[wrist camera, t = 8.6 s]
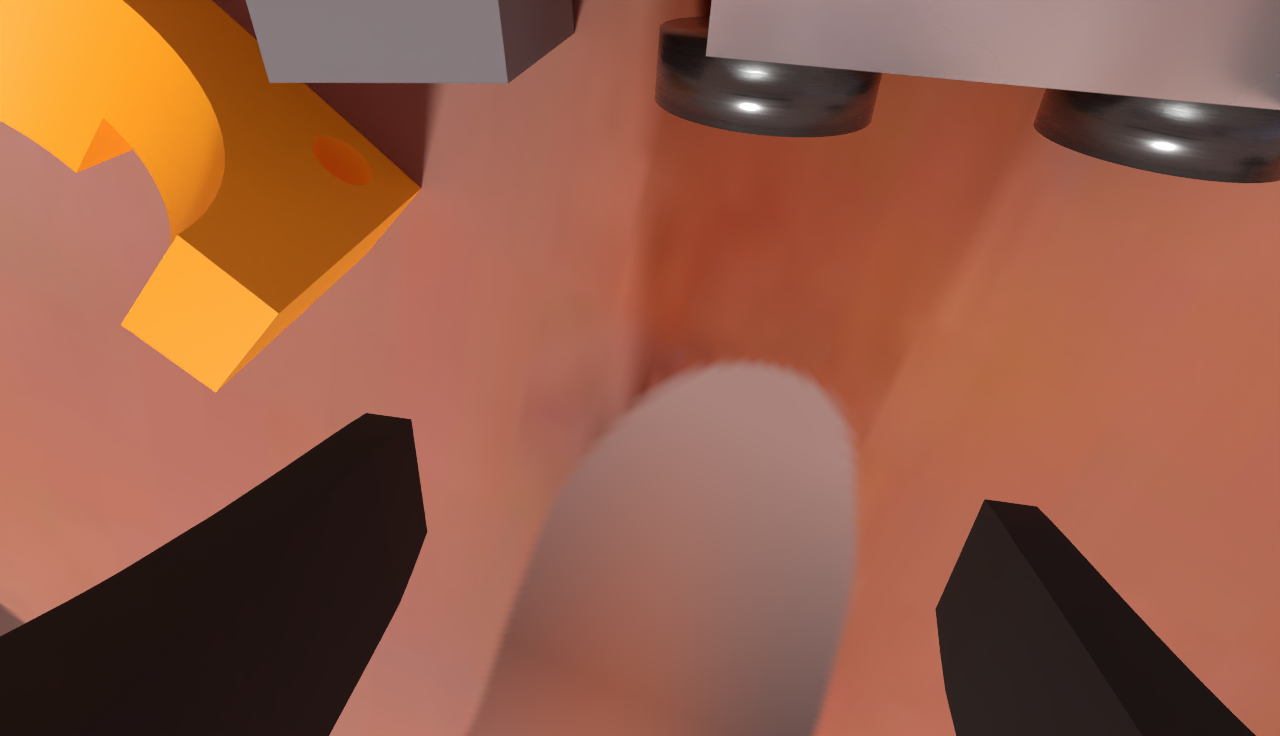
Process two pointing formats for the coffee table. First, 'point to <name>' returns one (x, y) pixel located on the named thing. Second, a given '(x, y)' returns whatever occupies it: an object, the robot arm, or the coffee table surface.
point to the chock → (406, 39)
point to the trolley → (999, 71)
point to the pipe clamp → (203, 164)
